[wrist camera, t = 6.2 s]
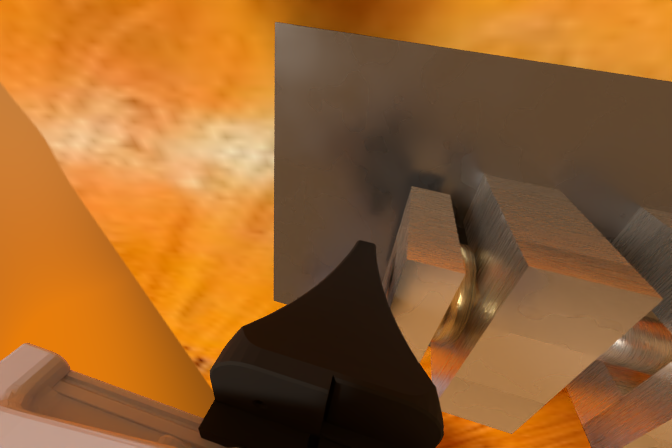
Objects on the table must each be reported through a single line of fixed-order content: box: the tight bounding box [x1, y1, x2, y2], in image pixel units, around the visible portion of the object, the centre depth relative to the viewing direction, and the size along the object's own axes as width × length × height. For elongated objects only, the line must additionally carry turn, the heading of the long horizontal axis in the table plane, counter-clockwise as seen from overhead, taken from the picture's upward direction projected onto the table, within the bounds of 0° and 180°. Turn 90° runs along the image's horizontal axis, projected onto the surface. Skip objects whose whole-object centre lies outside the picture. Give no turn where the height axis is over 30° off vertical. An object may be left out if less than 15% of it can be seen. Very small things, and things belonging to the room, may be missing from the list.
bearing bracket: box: [274, 22, 672, 448], centre depth 12 cm, size 16×20×7 cm
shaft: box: [382, 186, 672, 375], centre depth 11 cm, size 6×13×5 cm, turn 83°
